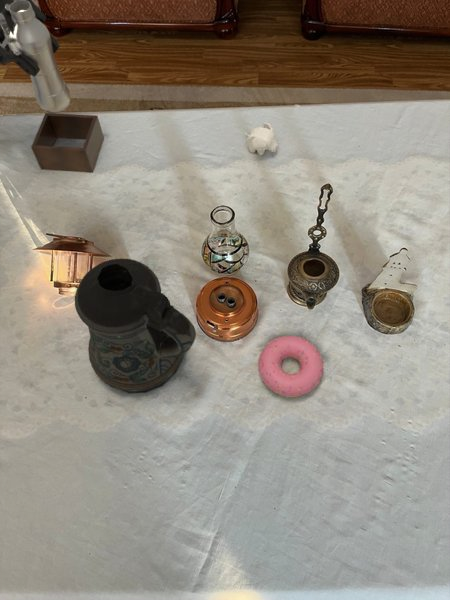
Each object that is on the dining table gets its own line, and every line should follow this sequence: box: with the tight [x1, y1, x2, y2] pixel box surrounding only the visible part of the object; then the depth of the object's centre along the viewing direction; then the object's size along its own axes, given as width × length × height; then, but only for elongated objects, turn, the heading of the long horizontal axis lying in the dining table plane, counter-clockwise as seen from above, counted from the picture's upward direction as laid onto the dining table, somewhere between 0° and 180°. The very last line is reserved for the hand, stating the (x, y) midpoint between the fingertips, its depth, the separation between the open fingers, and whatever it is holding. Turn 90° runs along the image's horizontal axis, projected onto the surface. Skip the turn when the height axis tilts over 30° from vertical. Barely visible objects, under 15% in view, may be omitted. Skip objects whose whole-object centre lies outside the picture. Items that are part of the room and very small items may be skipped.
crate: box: [30, 112, 105, 174], centre depth 114 cm, size 12×11×8 cm
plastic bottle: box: [9, 0, 71, 114], centre depth 94 cm, size 6×7×20 cm
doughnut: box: [257, 335, 324, 398], centre depth 88 cm, size 11×11×4 cm
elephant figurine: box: [244, 122, 279, 156], centre depth 114 cm, size 7×8×6 cm
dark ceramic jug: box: [74, 258, 197, 394], centre depth 82 cm, size 16×19×25 cm
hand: (47, 61), depth 93 cm, fingers closed on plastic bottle, 6 cm apart
